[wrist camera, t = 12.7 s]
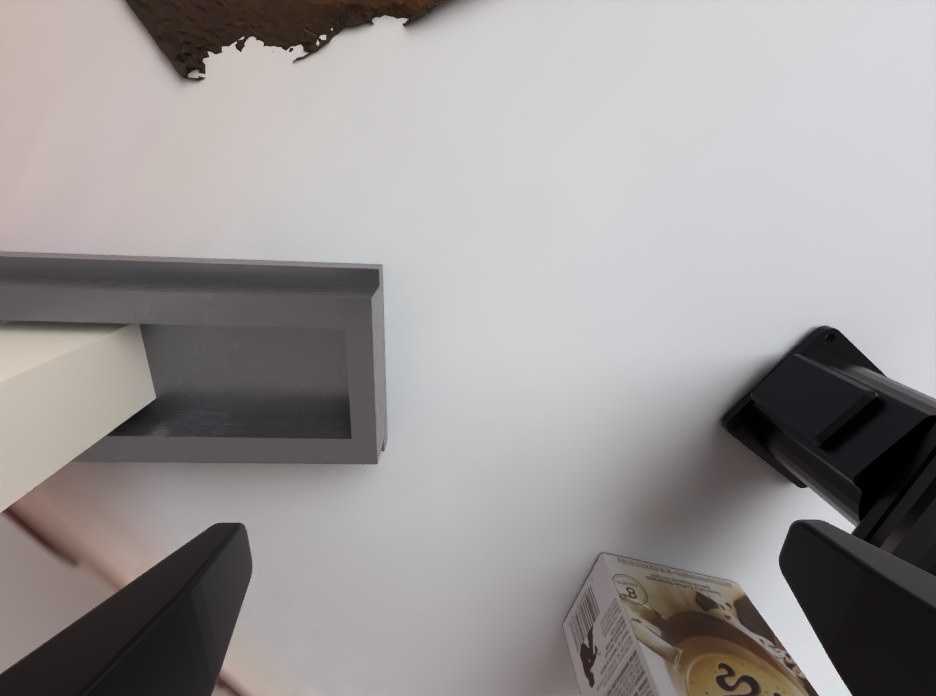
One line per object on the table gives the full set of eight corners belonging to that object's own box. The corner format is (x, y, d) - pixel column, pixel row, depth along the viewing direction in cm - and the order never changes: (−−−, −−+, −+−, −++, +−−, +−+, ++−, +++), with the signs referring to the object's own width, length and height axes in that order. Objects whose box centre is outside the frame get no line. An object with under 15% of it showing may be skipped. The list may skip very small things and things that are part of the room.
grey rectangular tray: (382, 264, 18) (370, 279, 16) (387, 439, 21) (377, 478, 19) (-35, 250, 18) (-126, 263, 15) (30, 435, 21) (-36, 474, 18)
